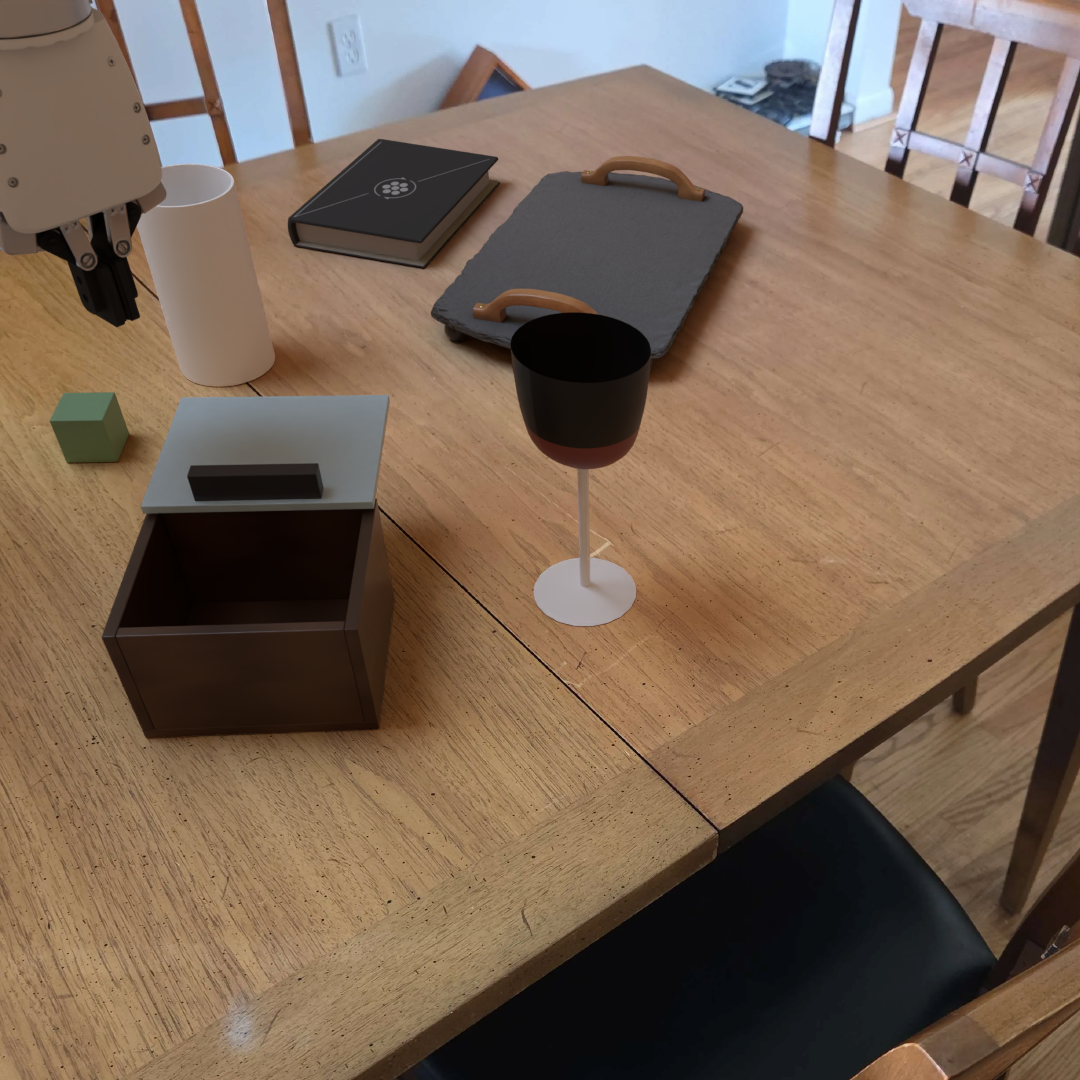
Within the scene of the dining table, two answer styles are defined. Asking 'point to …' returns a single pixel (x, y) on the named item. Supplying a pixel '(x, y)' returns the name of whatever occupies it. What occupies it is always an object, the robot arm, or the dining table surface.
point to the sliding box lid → (270, 454)
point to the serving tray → (595, 254)
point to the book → (395, 203)
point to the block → (89, 427)
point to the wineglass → (582, 438)
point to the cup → (207, 277)
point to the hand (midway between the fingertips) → (115, 315)
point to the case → (254, 622)
